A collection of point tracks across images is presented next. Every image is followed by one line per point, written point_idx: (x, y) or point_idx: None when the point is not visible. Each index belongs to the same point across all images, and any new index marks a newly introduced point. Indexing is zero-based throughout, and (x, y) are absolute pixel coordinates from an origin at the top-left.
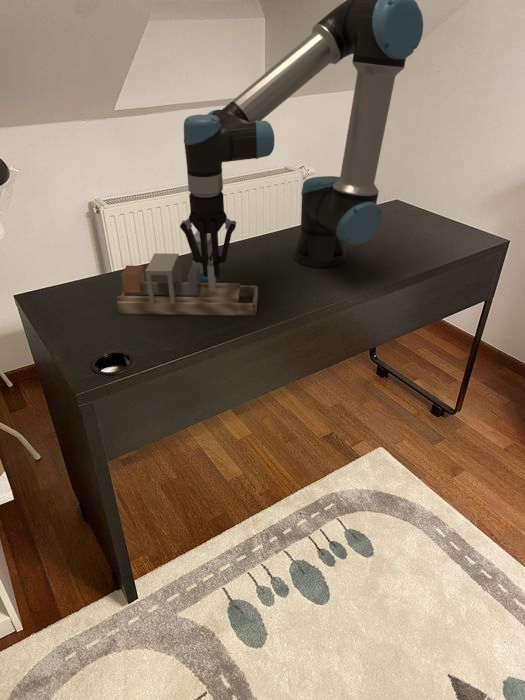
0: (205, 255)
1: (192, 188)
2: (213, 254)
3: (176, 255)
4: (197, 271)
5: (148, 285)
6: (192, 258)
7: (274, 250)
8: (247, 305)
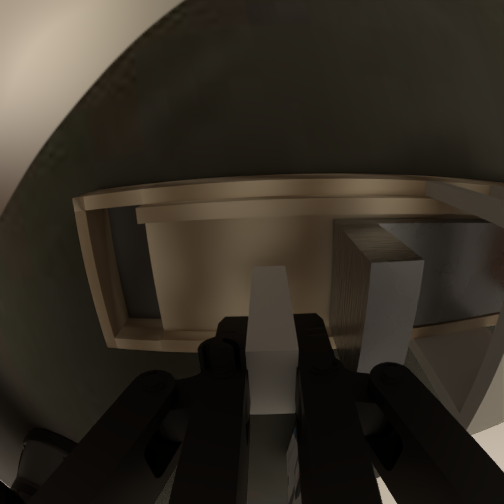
0: (318, 422)
1: None
2: (229, 433)
3: (475, 421)
4: (364, 332)
5: None
6: None
7: (166, 497)
8: (102, 193)
